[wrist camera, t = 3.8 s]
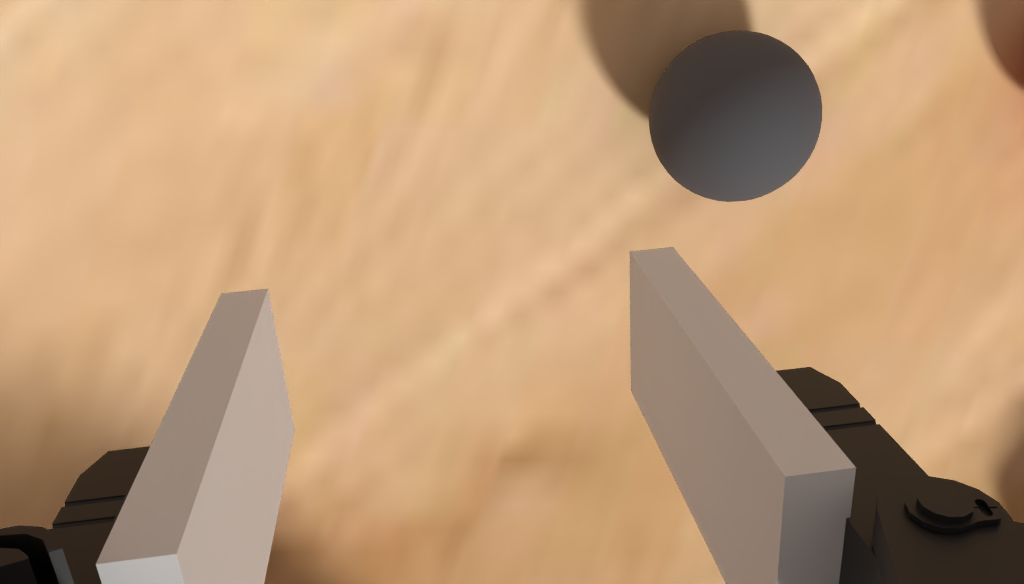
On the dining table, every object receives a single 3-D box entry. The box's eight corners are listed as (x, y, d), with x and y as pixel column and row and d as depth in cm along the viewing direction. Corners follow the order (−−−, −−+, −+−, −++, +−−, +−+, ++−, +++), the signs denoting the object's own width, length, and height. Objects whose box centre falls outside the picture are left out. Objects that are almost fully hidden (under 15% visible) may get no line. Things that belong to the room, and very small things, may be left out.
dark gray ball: (631, 182, 32) (675, 232, 27) (630, 28, 30) (677, 51, 25) (776, 168, 33) (845, 215, 28) (785, 15, 30) (862, 35, 25)
